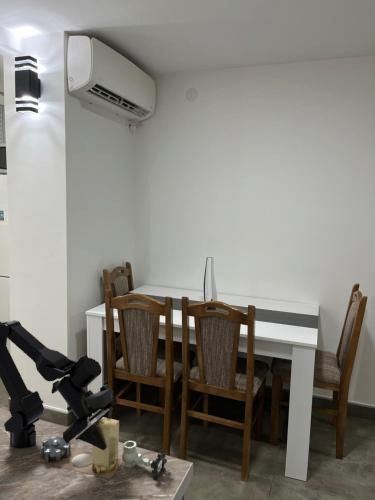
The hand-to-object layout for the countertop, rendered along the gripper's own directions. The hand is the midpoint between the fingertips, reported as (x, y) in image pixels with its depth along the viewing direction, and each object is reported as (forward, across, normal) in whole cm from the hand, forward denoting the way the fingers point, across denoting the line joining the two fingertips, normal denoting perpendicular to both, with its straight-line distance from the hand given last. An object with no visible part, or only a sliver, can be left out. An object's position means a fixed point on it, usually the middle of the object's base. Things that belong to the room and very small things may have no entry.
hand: (110, 443), depth 104 cm
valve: (+11, +3, 0) cm, 12 cm away
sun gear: (-7, -1, +17) cm, 18 cm away
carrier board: (-1, 0, +12) cm, 12 cm away
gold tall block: (+4, 0, +6) cm, 7 cm away
